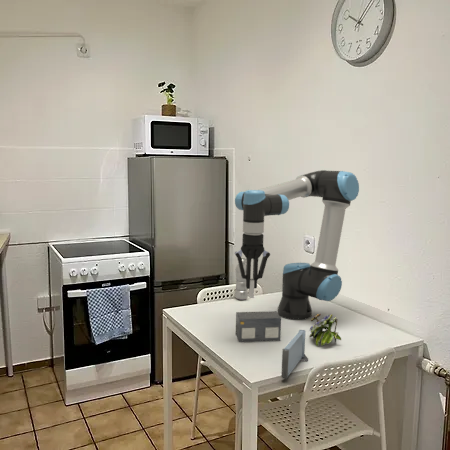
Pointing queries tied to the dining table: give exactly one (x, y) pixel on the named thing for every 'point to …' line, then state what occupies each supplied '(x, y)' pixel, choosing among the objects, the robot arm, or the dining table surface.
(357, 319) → the dining table surface
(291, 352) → the blue-grey flat panel
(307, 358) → the arm mount
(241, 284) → the plastic bottle
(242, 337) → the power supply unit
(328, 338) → the passion flower
